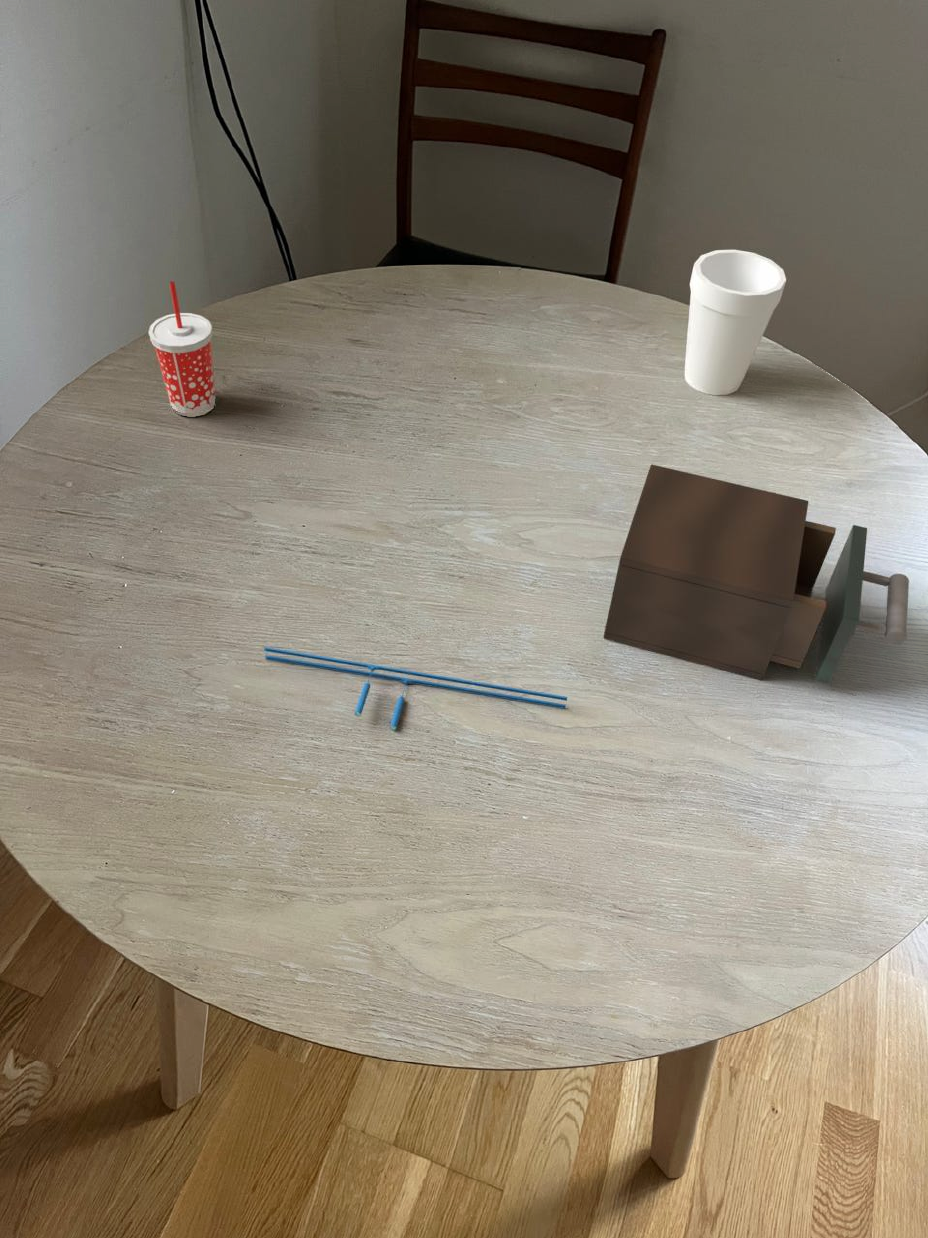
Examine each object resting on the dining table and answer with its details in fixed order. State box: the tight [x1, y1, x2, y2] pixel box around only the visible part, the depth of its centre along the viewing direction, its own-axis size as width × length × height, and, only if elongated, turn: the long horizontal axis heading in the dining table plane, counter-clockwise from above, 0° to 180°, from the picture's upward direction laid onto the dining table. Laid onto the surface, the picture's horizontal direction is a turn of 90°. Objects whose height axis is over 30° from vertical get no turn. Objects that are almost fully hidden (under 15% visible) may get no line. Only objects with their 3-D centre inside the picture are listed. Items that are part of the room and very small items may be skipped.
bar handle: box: [263, 646, 568, 731], centre depth 83 cm, size 1×25×5 cm
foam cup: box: [684, 249, 787, 396], centre depth 112 cm, size 10×9×13 cm
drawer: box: [769, 520, 910, 686], centre depth 87 cm, size 17×11×8 cm
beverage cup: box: [148, 280, 217, 413], centre depth 104 cm, size 6×6×14 cm
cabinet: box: [603, 463, 809, 681], centre depth 89 cm, size 14×13×10 cm
